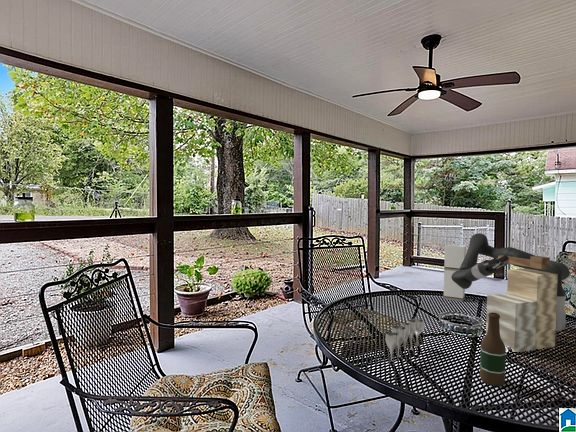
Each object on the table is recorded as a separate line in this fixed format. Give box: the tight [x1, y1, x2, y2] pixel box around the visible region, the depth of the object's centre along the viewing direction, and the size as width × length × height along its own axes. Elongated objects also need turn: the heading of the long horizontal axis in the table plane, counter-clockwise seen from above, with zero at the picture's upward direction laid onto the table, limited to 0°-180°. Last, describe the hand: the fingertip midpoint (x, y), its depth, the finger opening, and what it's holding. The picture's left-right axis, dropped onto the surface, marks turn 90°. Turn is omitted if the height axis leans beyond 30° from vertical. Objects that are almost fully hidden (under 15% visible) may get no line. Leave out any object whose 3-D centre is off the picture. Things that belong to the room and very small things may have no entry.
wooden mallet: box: [498, 255, 551, 270], centre depth 164 cm, size 5×22×5 cm, turn 19°
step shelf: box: [485, 268, 558, 353], centre depth 158 cm, size 24×14×32 cm, turn 109°
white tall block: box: [442, 244, 467, 303], centre depth 234 cm, size 11×11×35 cm
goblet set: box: [385, 317, 425, 362], centre depth 145 cm, size 28×6×13 cm, turn 136°
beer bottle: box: [479, 312, 507, 387], centre depth 124 cm, size 8×8×24 cm
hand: (509, 257), depth 170 cm, fingers closed on wooden mallet, 3 cm apart
